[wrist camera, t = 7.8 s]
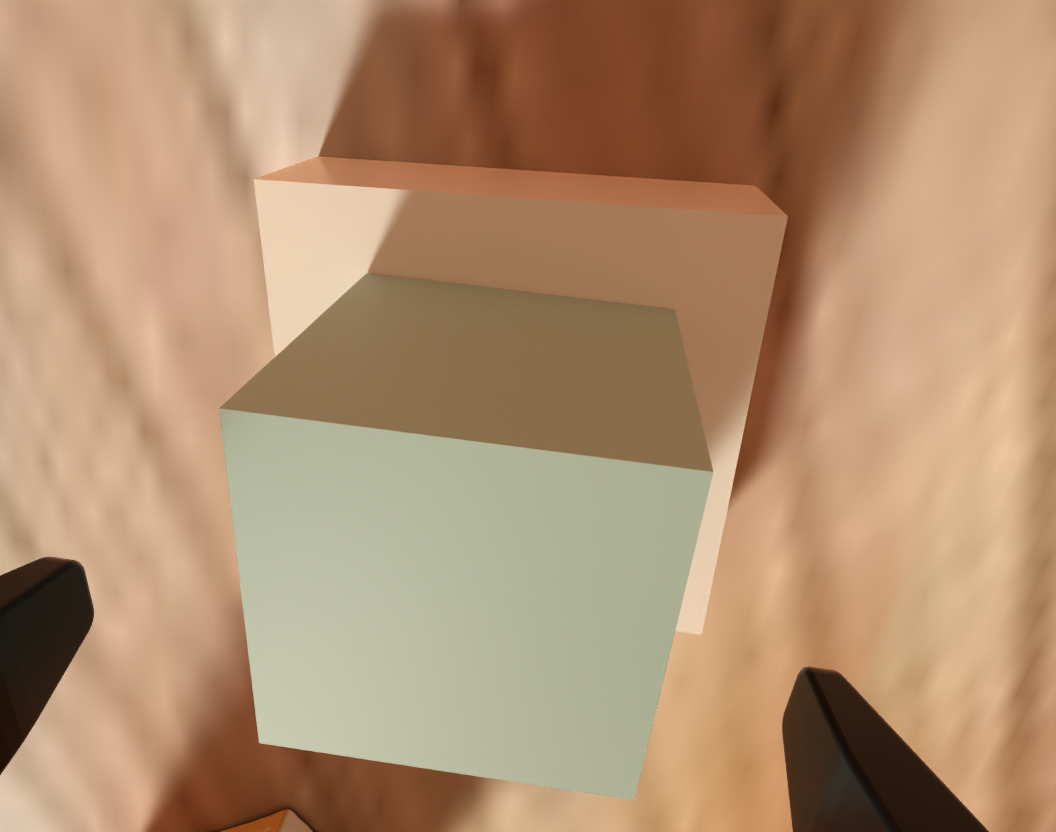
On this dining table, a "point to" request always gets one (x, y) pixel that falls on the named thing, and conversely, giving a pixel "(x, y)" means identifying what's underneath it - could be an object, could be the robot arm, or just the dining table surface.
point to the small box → (274, 824)
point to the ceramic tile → (545, 268)
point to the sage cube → (468, 530)
